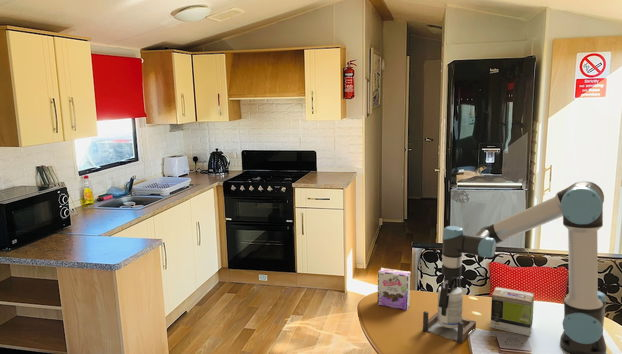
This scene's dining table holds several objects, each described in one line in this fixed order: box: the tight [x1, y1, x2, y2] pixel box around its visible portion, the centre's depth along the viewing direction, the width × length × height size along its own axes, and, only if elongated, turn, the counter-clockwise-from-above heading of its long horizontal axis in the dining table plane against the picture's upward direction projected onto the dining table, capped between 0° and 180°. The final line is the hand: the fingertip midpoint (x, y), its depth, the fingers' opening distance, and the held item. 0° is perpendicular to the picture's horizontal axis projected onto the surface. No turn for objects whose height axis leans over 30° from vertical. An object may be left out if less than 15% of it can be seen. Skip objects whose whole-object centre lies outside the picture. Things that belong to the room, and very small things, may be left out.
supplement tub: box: [437, 286, 463, 328], centre depth 191 cm, size 10×10×15 cm
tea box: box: [490, 286, 535, 337], centre depth 194 cm, size 15×10×15 cm
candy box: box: [377, 267, 412, 311], centre depth 214 cm, size 14×6×16 cm, turn 67°
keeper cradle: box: [422, 311, 477, 344], centre depth 193 cm, size 16×16×8 cm
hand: (449, 317), depth 192 cm, fingers closed on supplement tub, 9 cm apart
